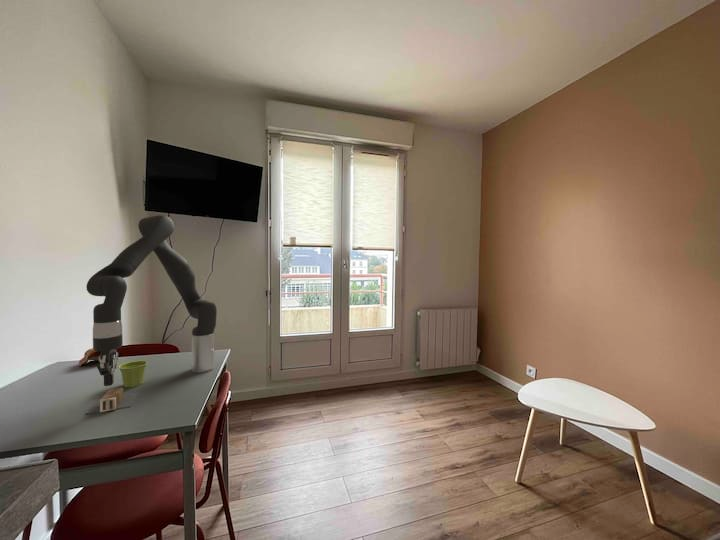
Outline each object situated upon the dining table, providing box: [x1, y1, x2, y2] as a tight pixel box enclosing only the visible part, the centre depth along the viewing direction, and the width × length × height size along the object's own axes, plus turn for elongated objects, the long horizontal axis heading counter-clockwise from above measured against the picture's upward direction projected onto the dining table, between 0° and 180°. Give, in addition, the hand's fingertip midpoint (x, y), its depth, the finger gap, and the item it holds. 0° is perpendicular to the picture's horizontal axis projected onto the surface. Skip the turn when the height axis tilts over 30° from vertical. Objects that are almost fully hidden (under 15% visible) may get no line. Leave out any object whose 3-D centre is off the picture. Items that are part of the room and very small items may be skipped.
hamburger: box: [78, 347, 118, 367], centre depth 141 cm, size 16×13×10 cm
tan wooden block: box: [99, 387, 124, 413], centre depth 101 cm, size 4×4×9 cm
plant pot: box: [118, 360, 148, 388], centre depth 118 cm, size 9×9×9 cm
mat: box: [85, 391, 140, 415], centre depth 103 cm, size 12×12×1 cm
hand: (108, 384), depth 97 cm, fingers closed
